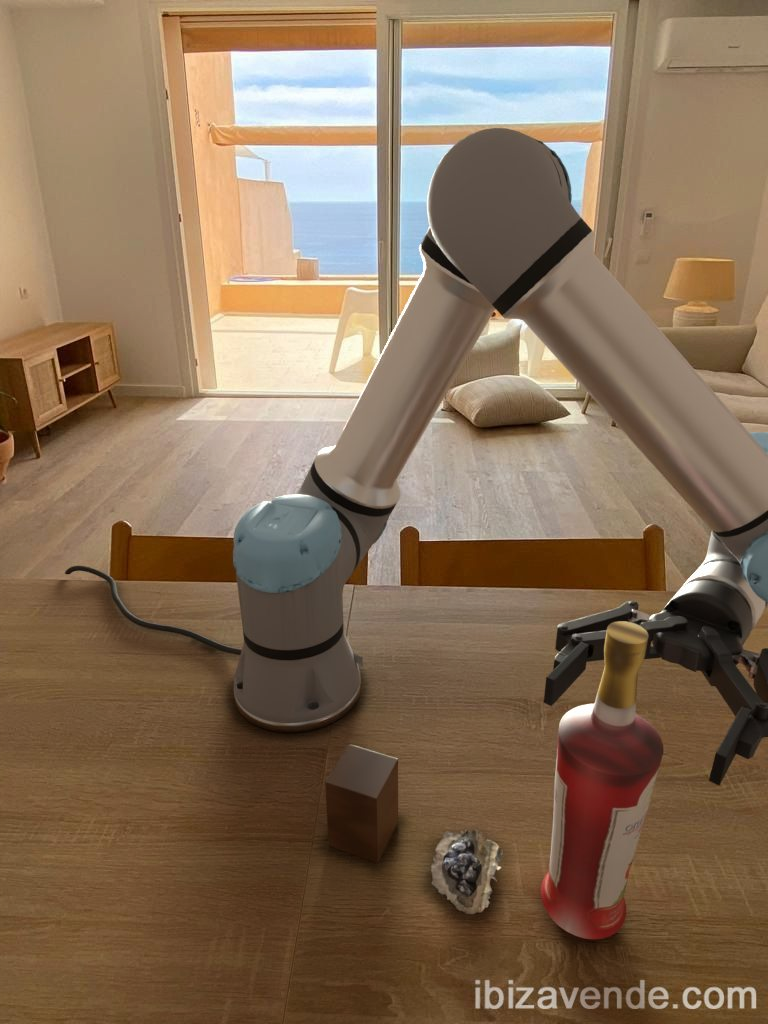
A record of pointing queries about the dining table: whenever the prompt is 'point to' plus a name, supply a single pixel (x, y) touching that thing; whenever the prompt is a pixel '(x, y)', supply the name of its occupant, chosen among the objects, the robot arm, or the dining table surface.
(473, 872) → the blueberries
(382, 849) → the walnut block
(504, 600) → the dining table surface
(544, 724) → the dining table surface
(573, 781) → the liquor
